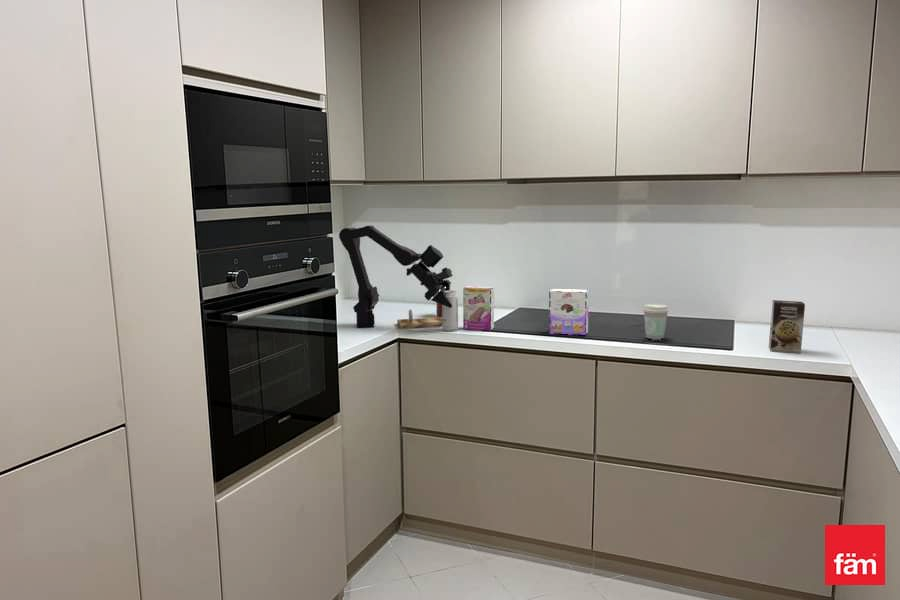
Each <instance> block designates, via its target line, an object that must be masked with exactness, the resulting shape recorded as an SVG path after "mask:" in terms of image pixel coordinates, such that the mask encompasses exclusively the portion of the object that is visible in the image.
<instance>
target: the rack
mask: <svg viewBox="0 0 900 600" xmlns="http://www.w3.org/2000/svg"><path fill="white" fill-rule="evenodd" d="M396 321H397V322H396V323H397V324H398V325H397V326H398V327H399V329H401V330H402V329H405V330H406V329H407V330H408V329H423V328H424V329H425V328H442V317H421V318H420V317H419V318H413V321H412V323H409V318H399V319H397V320H396Z"/></svg>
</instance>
